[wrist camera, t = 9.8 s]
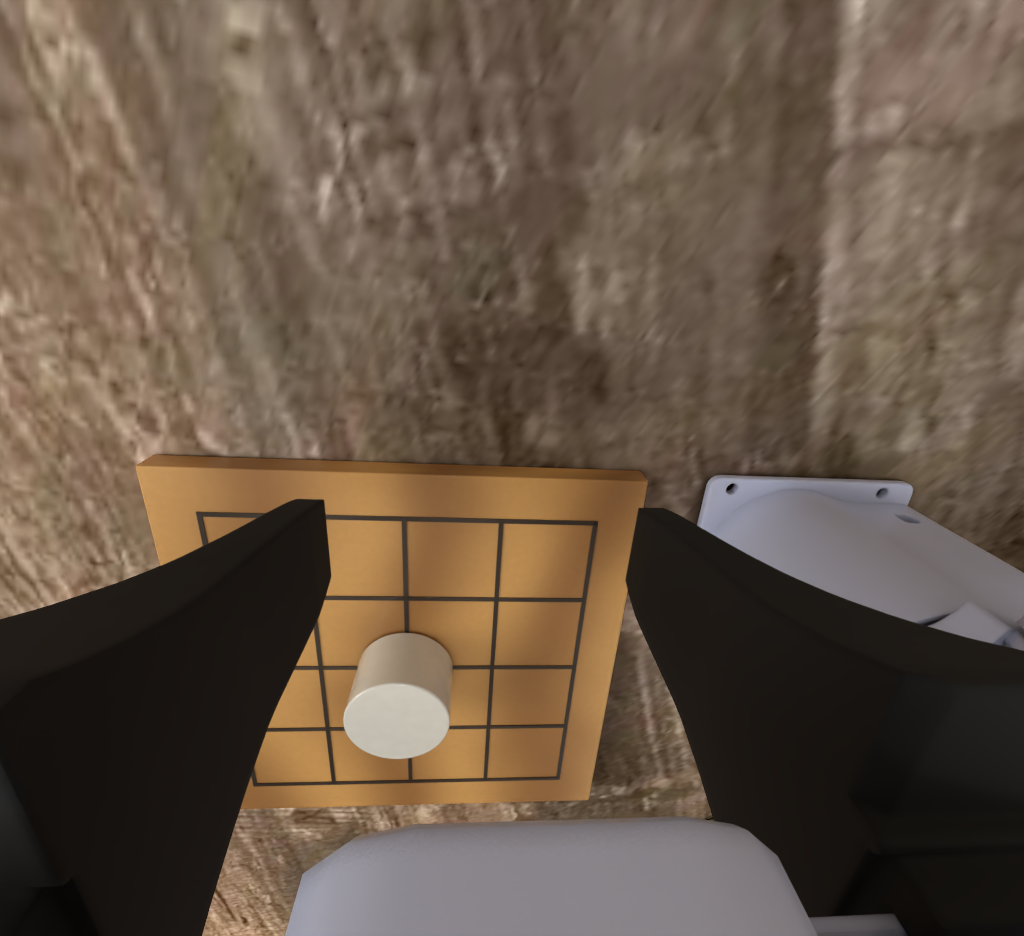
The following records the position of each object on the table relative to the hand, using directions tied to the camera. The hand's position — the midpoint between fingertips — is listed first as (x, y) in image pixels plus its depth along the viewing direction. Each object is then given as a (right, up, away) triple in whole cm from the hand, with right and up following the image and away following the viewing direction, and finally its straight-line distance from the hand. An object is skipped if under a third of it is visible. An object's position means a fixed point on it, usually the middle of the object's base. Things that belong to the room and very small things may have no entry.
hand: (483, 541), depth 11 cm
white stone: (-4, -8, +12) cm, 15 cm away
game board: (-4, -7, +13) cm, 16 cm away
